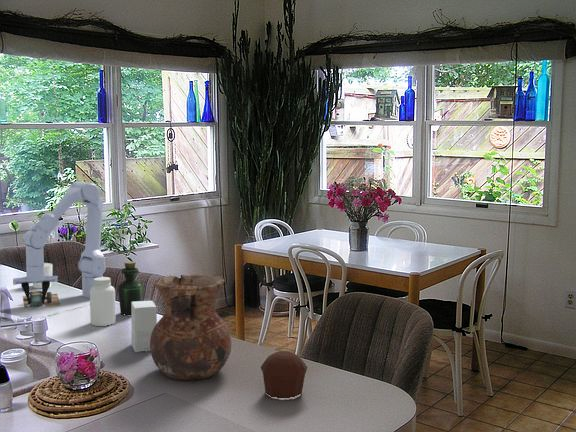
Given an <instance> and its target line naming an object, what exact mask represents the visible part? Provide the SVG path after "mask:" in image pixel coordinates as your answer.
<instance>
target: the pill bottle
mask: <svg viewBox="0 0 576 432" xmlns="http://www.w3.org/2000/svg"><path fill="white" fill-rule="evenodd" d="M111 279H112V278H110V277H108V276H103V277H98V278H95V279H94V285H95V286H94V287H92V288H91V290H90V298H89V308H90V310H89V311H90V313H89V314H90V315H89V316H90V318H89V319H90V324H91V326H94V327H108V326H107V325H109V326H112V325H114V324H115V323H116V317H117V316H116V315H117V314H116V289H115V287H114V286H112V283H111V281H112V280H111ZM111 324H112V325H111Z"/></svg>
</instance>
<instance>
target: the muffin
mask: <svg viewBox="0 0 576 432" xmlns="http://www.w3.org/2000/svg"><path fill="white" fill-rule="evenodd" d="M260 369H261V371H262V376H263V384H264V390H265V391H264V392H265V394H266V393H267V394H268V395H270V396H271V397H277V398H290V397H295V396H297V395H299V394H301V393H302V394H303V388H304V384H305V383H304V382H305V375H306V373H307V370H308V366H307V364H306V363H305V362H304V360H303V359H302V358H301V357H300V356H299V355H297V353H294V352H292V351H288V350H287V351H286V350H284V351H283V350H282V351H281V350H280V351H275V352H274V353H271V354H270V355H268V356H267V358H265V360H264V361H263V363H262V364H261V366H260Z"/></svg>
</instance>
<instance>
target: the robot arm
mask: <svg viewBox="0 0 576 432" xmlns="http://www.w3.org/2000/svg"><path fill="white" fill-rule="evenodd" d="M77 203H82V204H83V205H85V207H86V208H87V210H86V211H87V212H86V228H85V229H86V230H85V242H84V243H85V245H84V250H83V251H82V252H81V254H80V258H79V259H80V260H79V261H78V264H77V265H78V270H79V271H80V272H81V276H82V277H81V282H82V283H81V285H82V288H81V289H82V294H81V295H82V297H83V298H87V299H88V298H89V299H90V290H91V288H92V287H94V286H95V285H94V279H95V278H98V277H104V276H103V275H104V273H105V272H106V270H107V269H106V268H107V264H106V262H105V255H104V254H103V252H102V251H101V244H102V231H103V230H102V226H103V212H104V202H103V198H102V196H101V189H100V187H98V186H97V185H96V184H95V183H93V182H83V181H79V180H78V181H74V182H73V183H71V185H70V186H69V187H68V188H67V189H66V192H65V194H64V195H63V196H62V197H61V199H60V200H59V201H58V203H57V204H56V205H55V207H54V208H53V209H52V211H50V213H45V214H44V215H43V214H42V215H41V216H40V219H39V221H37V223H35V225H33V226H31V230H28V231H27V232H25V233H24V235H23V238H21V241H22V244H23V245H24V246H25V264H26V267H25V268H26V270H25V271H26V276H23V277H14V278H12V284H13V286H16V285H20V286H21V289H22V290H23V292H24V294H25V295H24V296H26V297H27V301H28V304H27V306H28V305H29V306H30V297H29V295H30V294H29V292H30V284H33V283H42V288H41V291H42V304H45V303H44V301H45V296H46V294H47V292H48V290H49V288H50V287H49V286H50V282H52V283H58V275H52V276H44V263H45V261H44V260H45V258H44V257H45V256H44V255H45V254H44V246H45V245H47V241H48V237H49V236H50V235H51V233H53V231H54V230H55V229H56V227H58V226H59V220H60V218H61V217H62V216H63V215H64V214H65V213H66V212H67V211H68V210H69V208H71V207H72V206H73V205H74V204H77Z"/></svg>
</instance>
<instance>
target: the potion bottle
mask: <svg viewBox="0 0 576 432" xmlns="http://www.w3.org/2000/svg"><path fill="white" fill-rule="evenodd" d="M123 264H124V268H122V269H121V272H120V273H121V274H123V275H124V278H125V279H124V281H122V282H120V283H119V285H118V286H117V290H118V299H119V300H118V301H119V309H120V310H119V311H120V314H121V315H122V314H125V315H131V302H135V301H142V295H143V294H142V290H143V285H142V283H141V282H139V281H137V280H135V277H136V274H138V273H139V272H140V271H139V269H138V267H136V261H133V260H132V261H124V263H123Z"/></svg>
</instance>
